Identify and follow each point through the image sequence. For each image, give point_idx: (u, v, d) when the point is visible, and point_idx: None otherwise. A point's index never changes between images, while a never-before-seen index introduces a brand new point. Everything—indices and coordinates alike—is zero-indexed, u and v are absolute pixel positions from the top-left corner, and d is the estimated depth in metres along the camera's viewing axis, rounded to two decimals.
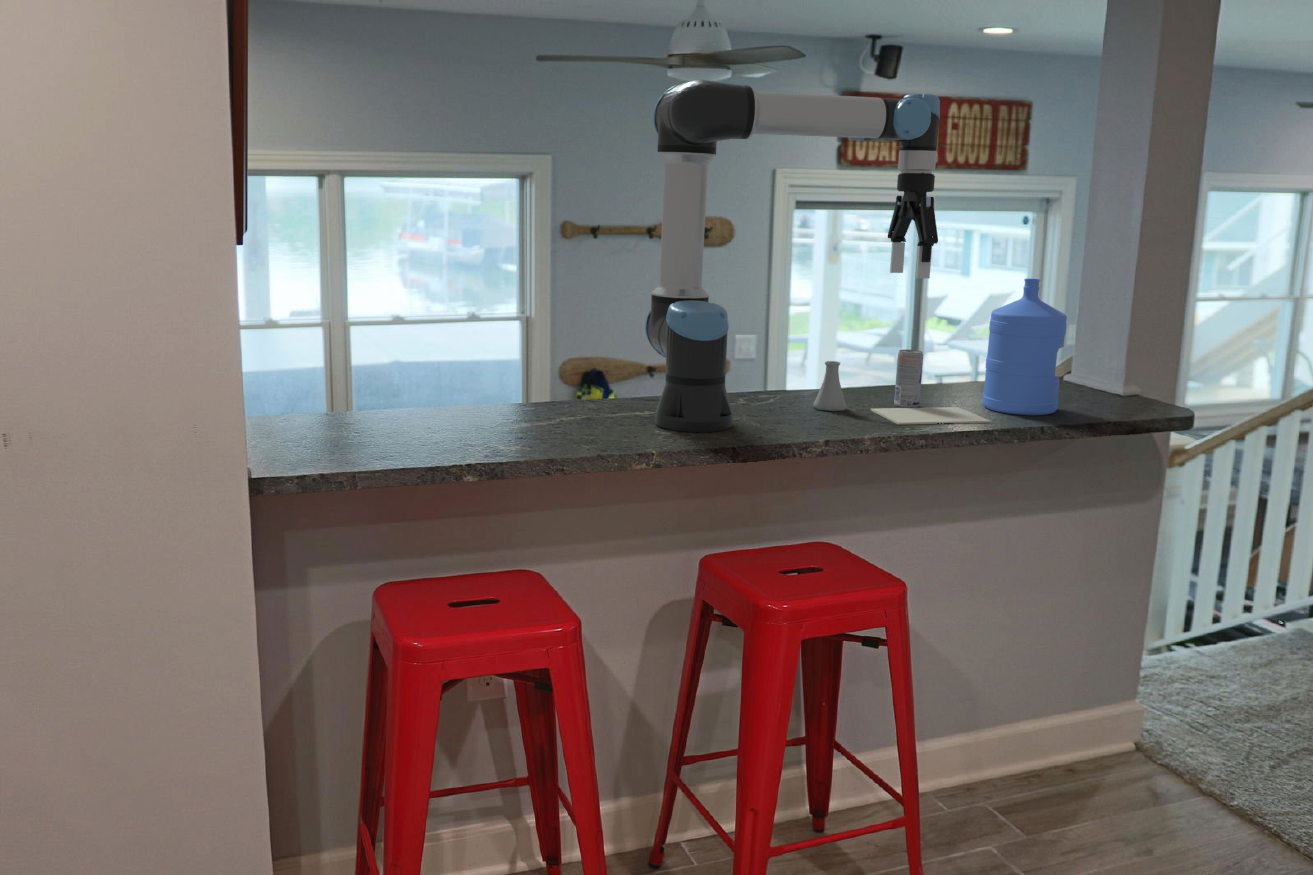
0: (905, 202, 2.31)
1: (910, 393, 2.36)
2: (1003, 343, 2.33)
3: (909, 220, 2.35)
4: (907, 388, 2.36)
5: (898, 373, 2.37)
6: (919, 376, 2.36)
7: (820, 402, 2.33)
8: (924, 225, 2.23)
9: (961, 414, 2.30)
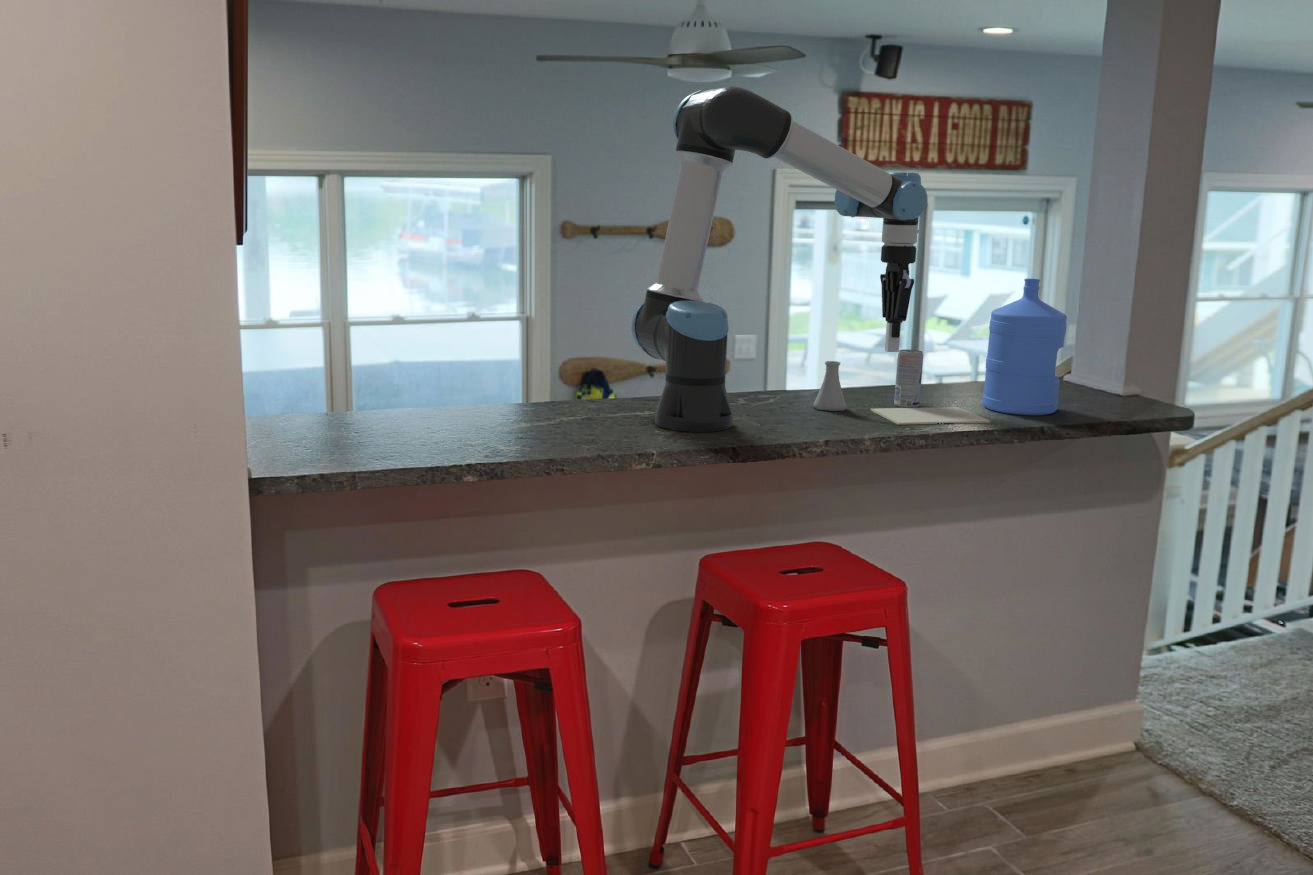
0: (888, 271, 2.44)
1: (910, 393, 2.36)
2: (1003, 343, 2.33)
3: None
4: (907, 388, 2.36)
5: (898, 373, 2.37)
6: (919, 376, 2.36)
7: (820, 402, 2.33)
8: (897, 305, 2.40)
9: (961, 414, 2.30)
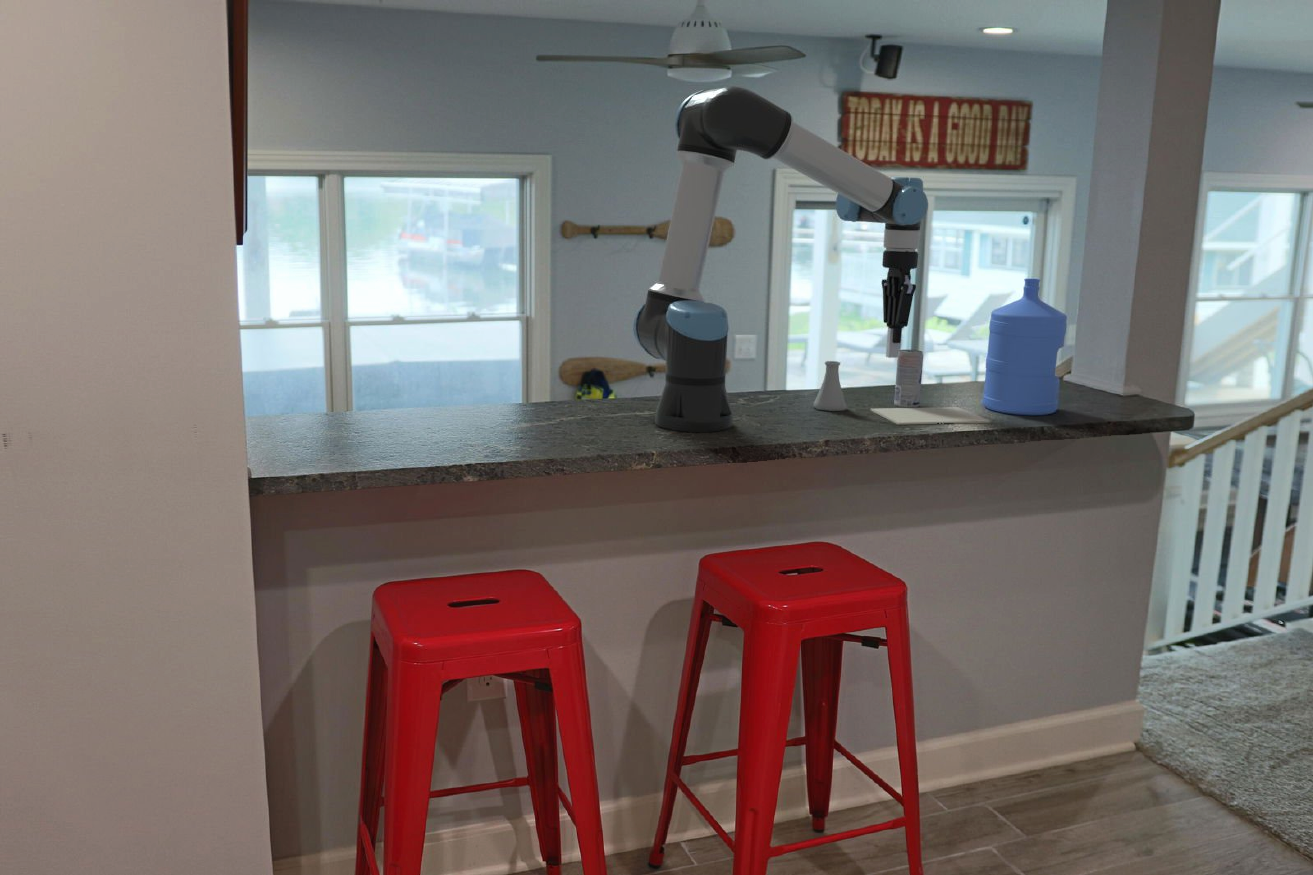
0: (889, 276, 2.43)
1: (910, 393, 2.36)
2: (1003, 343, 2.33)
3: None
4: (907, 388, 2.36)
5: (898, 373, 2.37)
6: (919, 376, 2.36)
7: (820, 402, 2.33)
8: (899, 310, 2.40)
9: (961, 414, 2.30)
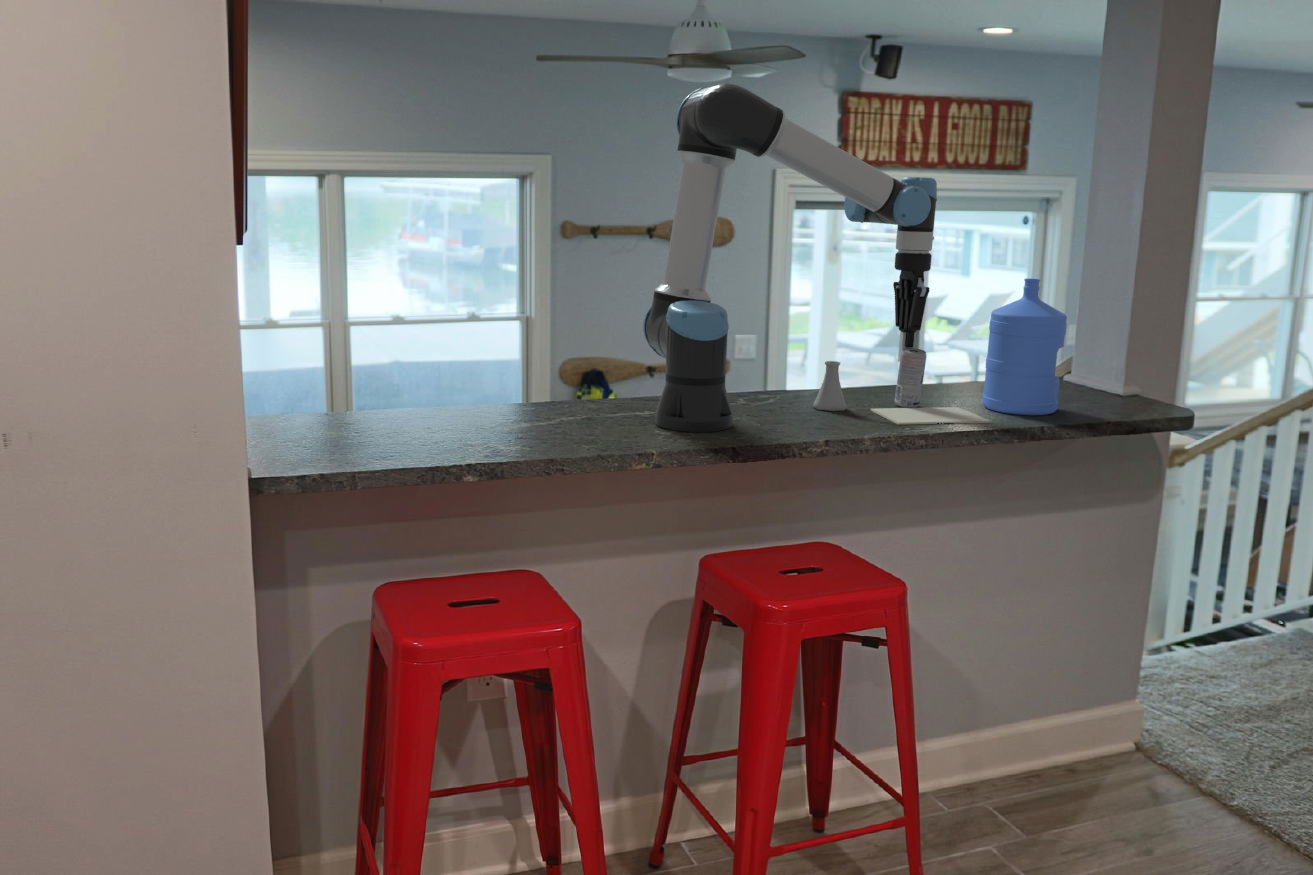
0: (902, 279, 2.37)
1: (911, 393, 2.36)
2: (1003, 343, 2.33)
3: None
4: (908, 389, 2.36)
5: (900, 373, 2.36)
6: (921, 377, 2.36)
7: (820, 402, 2.33)
8: (912, 314, 2.33)
9: (961, 414, 2.30)
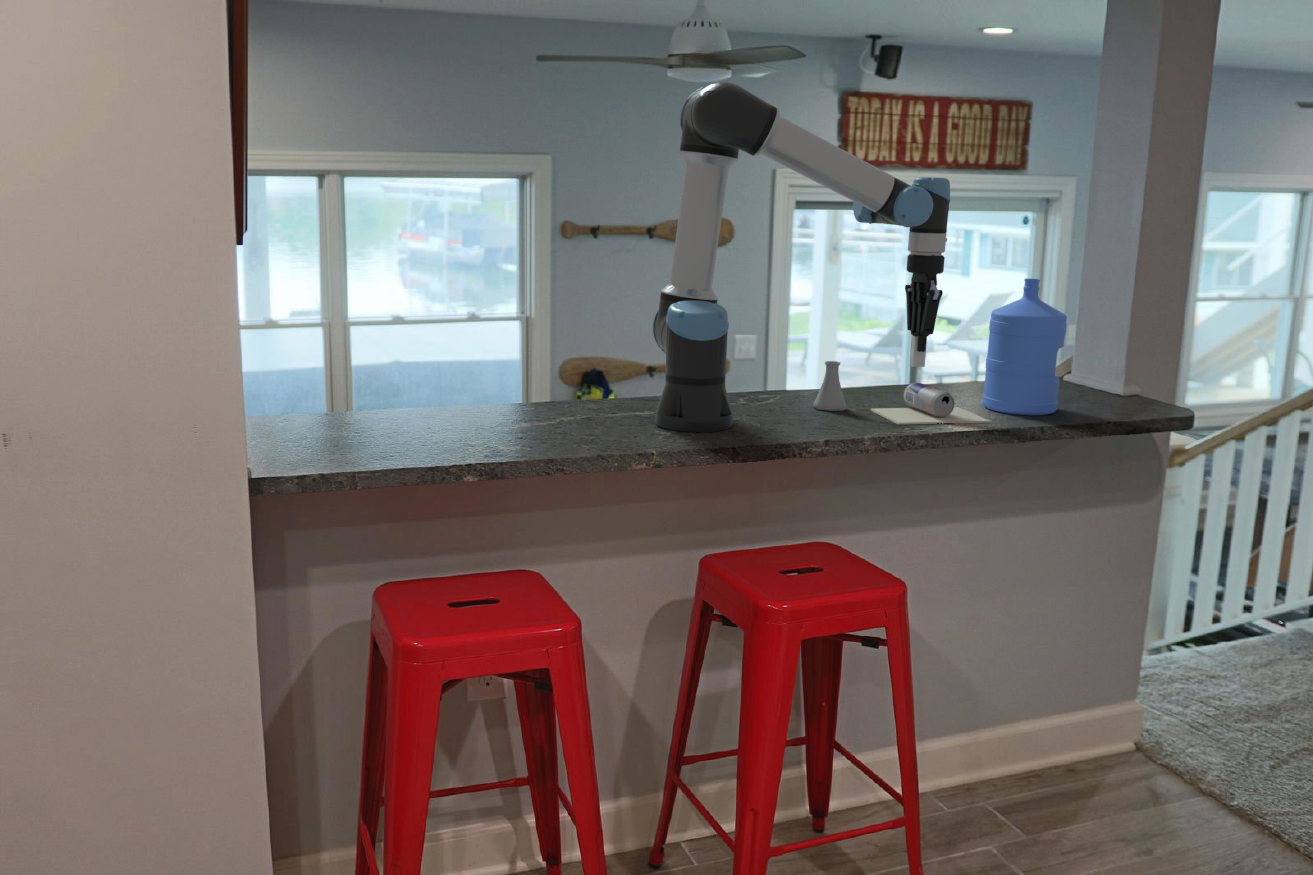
0: (914, 281, 2.31)
1: None
2: (1003, 343, 2.33)
3: None
4: (917, 408, 2.33)
5: (920, 402, 2.29)
6: None
7: (820, 402, 2.33)
8: (924, 317, 2.28)
9: (961, 414, 2.30)
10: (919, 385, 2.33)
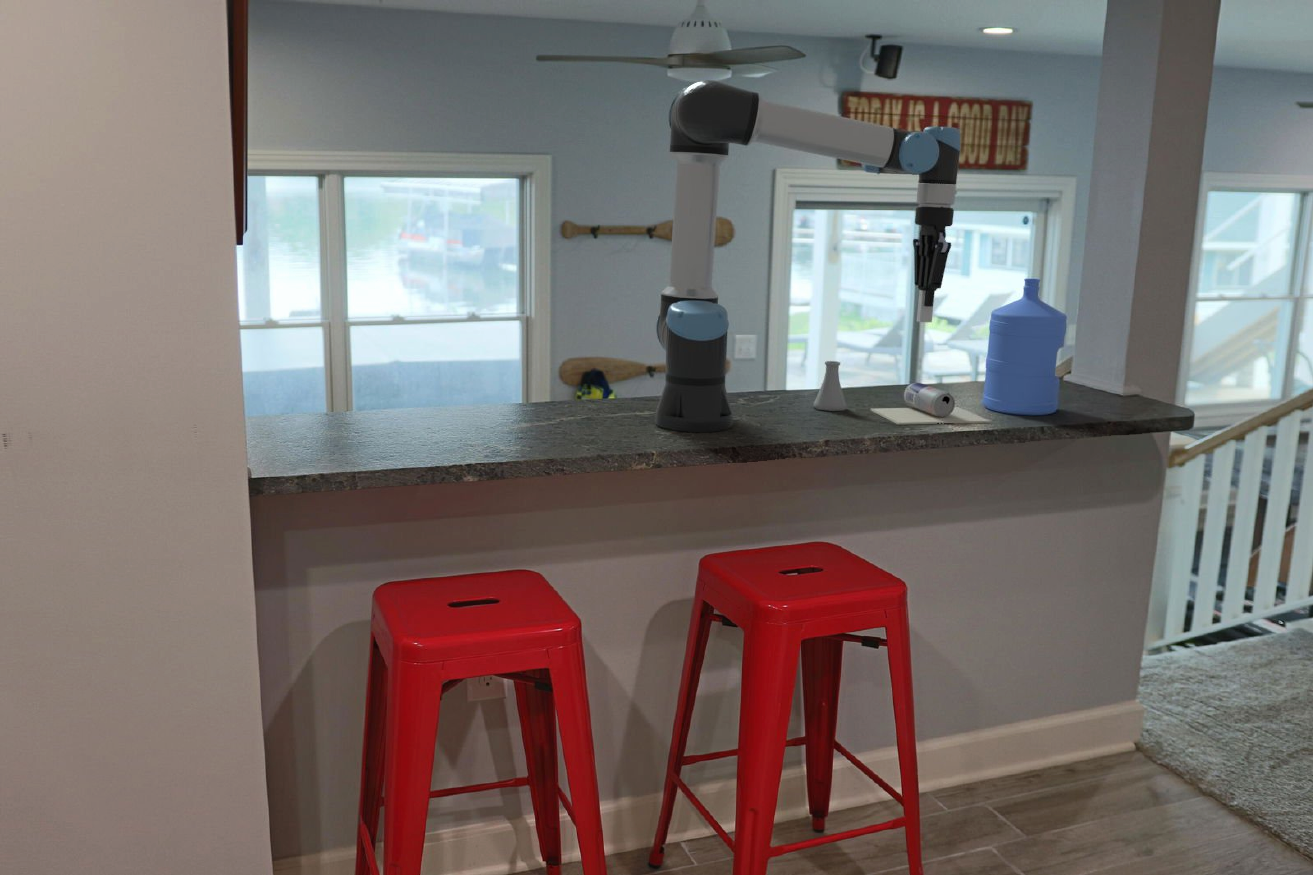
0: (922, 234, 2.26)
1: None
2: (1003, 343, 2.33)
3: None
4: (917, 408, 2.33)
5: (920, 401, 2.29)
6: None
7: (820, 402, 2.33)
8: (932, 271, 2.23)
9: (961, 414, 2.30)
10: (920, 385, 2.33)
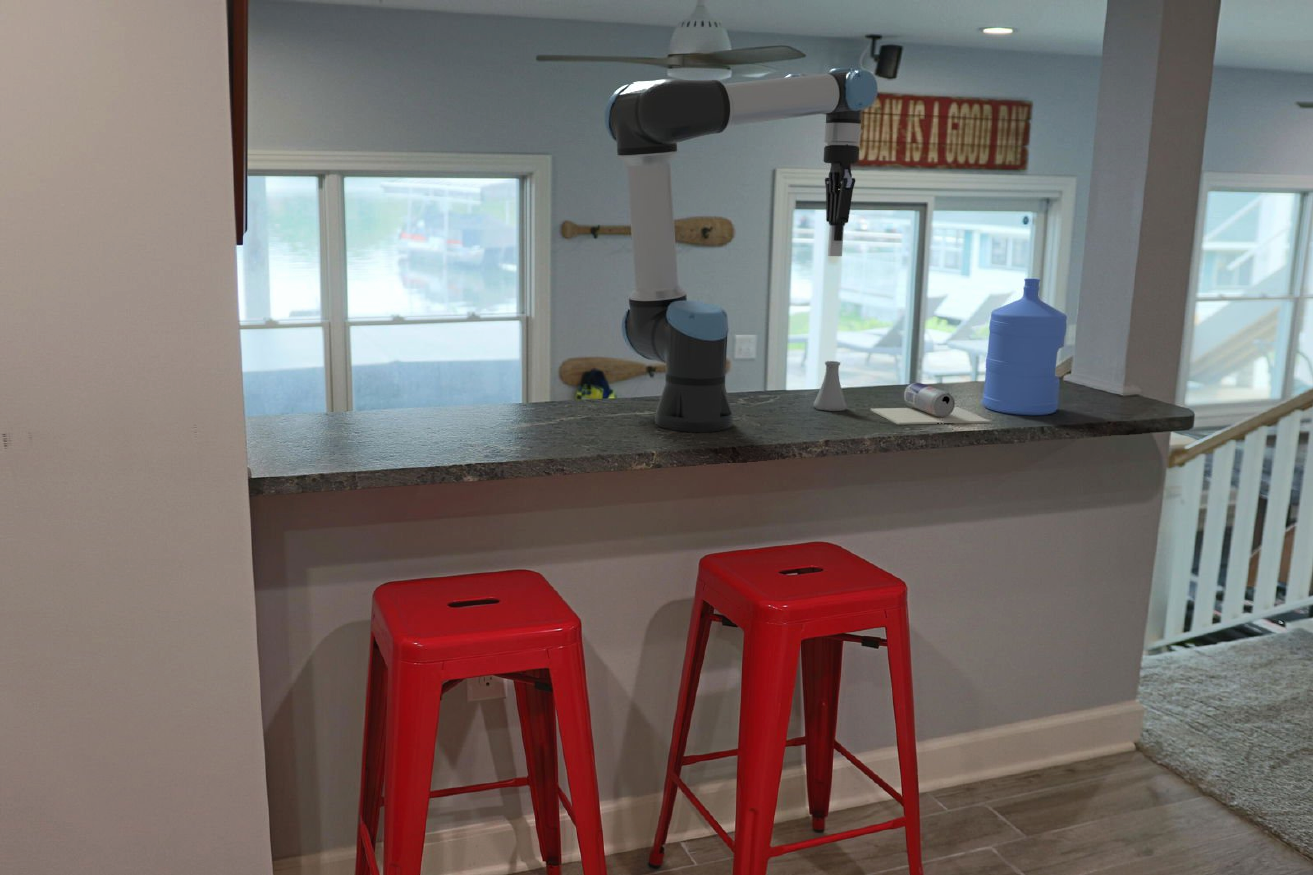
0: (831, 172, 2.39)
1: None
2: (1003, 343, 2.33)
3: None
4: (917, 408, 2.33)
5: (920, 401, 2.29)
6: None
7: (821, 402, 2.33)
8: (839, 205, 2.35)
9: (961, 414, 2.30)
10: (919, 385, 2.33)
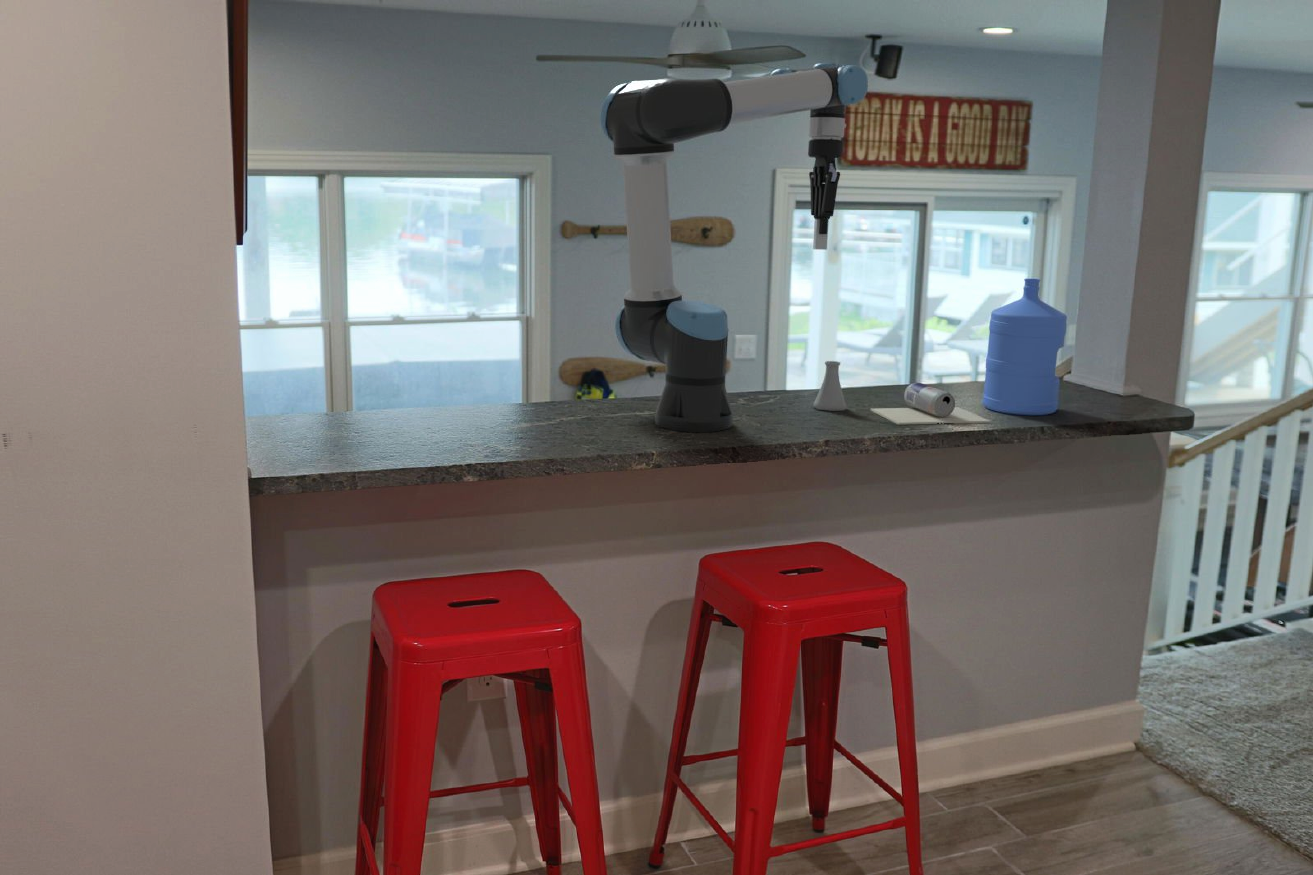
0: (815, 166, 2.41)
1: (917, 408, 2.34)
2: (1003, 343, 2.33)
3: None
4: (917, 408, 2.33)
5: (921, 401, 2.29)
6: None
7: (821, 402, 2.33)
8: (824, 199, 2.38)
9: (961, 414, 2.30)
10: (920, 385, 2.33)
